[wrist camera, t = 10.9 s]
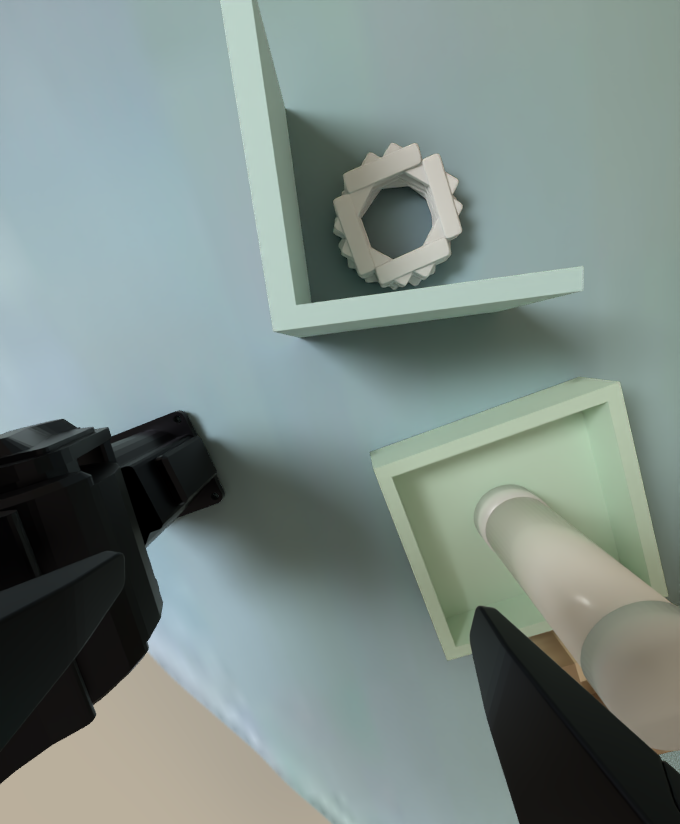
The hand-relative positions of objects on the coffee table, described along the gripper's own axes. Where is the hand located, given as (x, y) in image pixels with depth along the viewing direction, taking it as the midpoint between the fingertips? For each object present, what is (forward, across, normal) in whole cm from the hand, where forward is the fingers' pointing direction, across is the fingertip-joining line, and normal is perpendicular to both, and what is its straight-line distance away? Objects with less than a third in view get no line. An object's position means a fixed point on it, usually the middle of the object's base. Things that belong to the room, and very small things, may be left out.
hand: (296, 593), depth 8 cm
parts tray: (+13, -12, +3) cm, 18 cm away
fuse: (+13, -12, +3) cm, 17 cm away
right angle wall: (+14, -1, -14) cm, 20 cm away
